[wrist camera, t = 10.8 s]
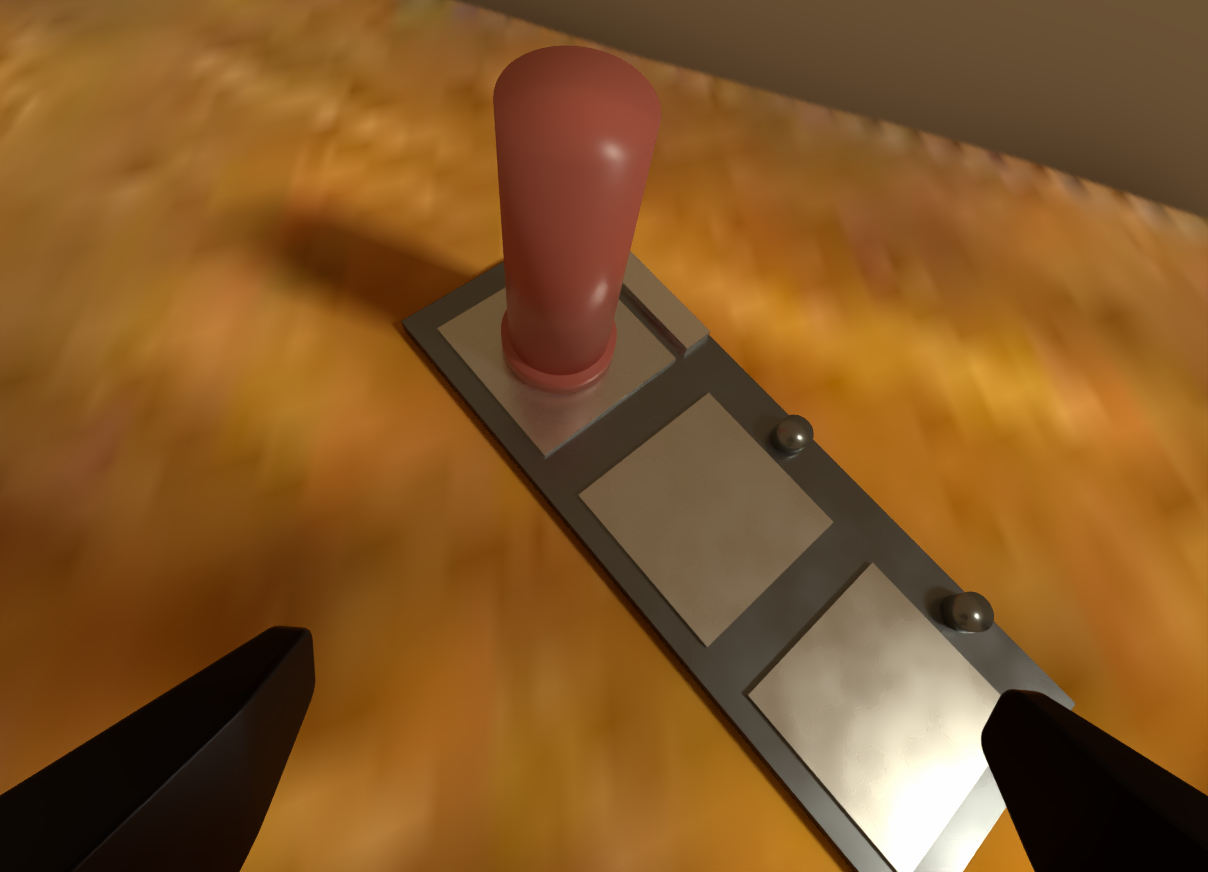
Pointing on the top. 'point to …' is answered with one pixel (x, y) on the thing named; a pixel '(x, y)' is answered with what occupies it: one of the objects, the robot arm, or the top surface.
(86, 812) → the robot arm
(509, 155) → the red joystick handle
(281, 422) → the top surface
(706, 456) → the board
